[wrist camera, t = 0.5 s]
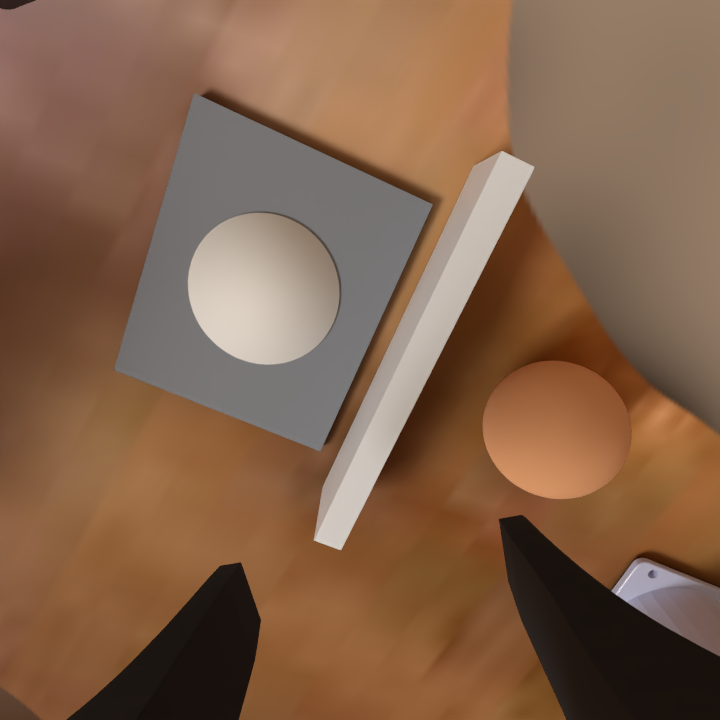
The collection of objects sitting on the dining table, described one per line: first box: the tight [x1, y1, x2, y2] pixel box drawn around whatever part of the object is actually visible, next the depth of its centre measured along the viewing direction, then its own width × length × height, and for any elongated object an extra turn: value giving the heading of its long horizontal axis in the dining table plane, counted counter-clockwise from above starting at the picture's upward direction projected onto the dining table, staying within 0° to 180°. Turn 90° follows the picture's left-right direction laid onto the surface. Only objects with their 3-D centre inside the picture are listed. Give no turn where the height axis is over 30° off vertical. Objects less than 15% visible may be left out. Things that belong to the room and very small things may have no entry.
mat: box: [114, 93, 433, 451], centre depth 20 cm, size 10×12×1 cm
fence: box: [314, 151, 535, 550], centre depth 19 cm, size 1×16×4 cm, turn 156°
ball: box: [483, 361, 631, 499], centre depth 18 cm, size 6×6×6 cm
